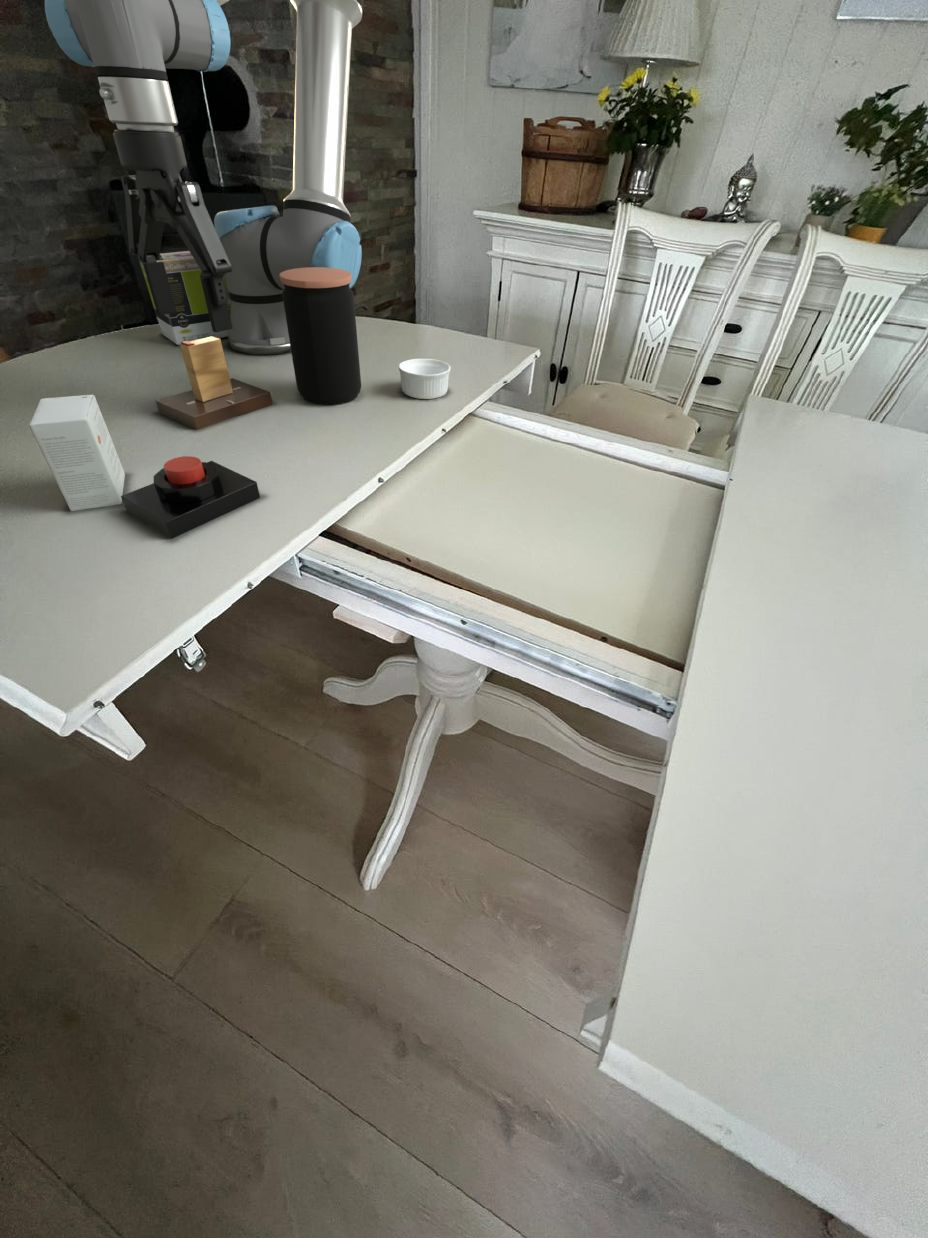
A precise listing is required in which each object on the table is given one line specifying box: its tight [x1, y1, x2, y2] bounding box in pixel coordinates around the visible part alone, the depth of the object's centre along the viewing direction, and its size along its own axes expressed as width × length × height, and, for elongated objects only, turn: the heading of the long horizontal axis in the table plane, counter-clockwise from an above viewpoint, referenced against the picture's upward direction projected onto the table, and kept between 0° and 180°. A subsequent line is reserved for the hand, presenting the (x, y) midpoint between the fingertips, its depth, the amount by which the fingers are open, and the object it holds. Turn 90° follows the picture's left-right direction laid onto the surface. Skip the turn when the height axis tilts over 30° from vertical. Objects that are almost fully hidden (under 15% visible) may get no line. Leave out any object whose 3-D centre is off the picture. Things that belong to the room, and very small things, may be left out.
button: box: [163, 455, 205, 485], centre depth 65 cm, size 4×4×2 cm
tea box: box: [138, 250, 231, 346], centre depth 116 cm, size 15×10×15 cm, turn 129°
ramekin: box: [398, 358, 452, 400], centre depth 98 cm, size 9×9×4 cm
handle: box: [179, 336, 233, 402], centre depth 87 cm, size 6×2×8 cm, turn 143°
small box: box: [28, 394, 126, 512], centre depth 66 cm, size 8×6×10 cm
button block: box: [121, 460, 261, 540], centre depth 67 cm, size 12×9×4 cm
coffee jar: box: [279, 267, 362, 406], centre depth 91 cm, size 11×11×18 cm
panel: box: [155, 377, 274, 431], centre depth 90 cm, size 14×10×2 cm
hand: (194, 321), depth 82 cm, fingers open, 13 cm apart
